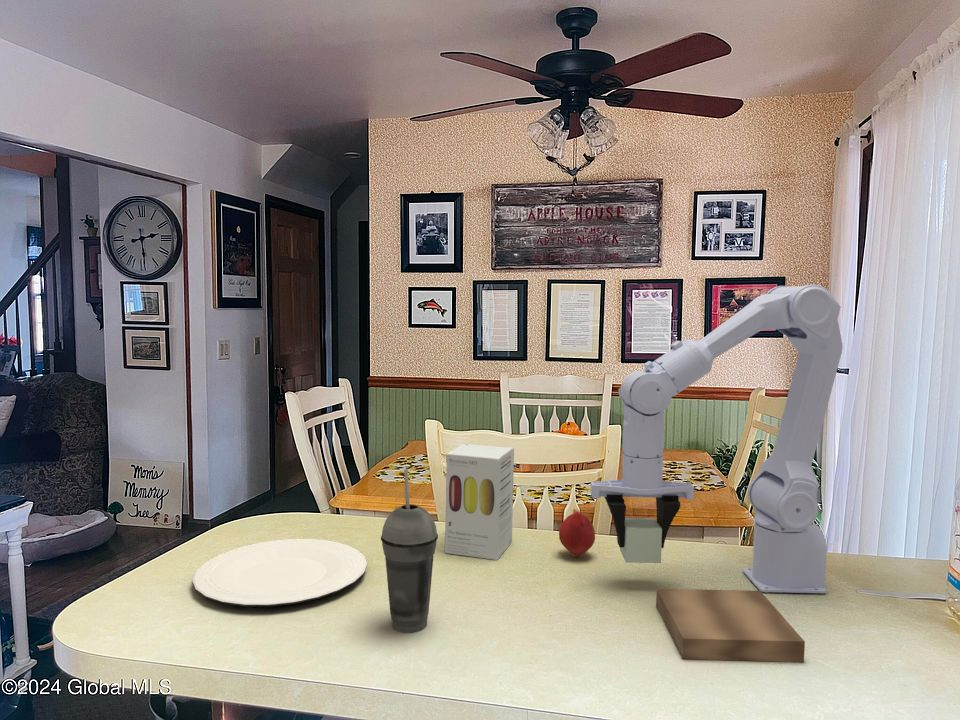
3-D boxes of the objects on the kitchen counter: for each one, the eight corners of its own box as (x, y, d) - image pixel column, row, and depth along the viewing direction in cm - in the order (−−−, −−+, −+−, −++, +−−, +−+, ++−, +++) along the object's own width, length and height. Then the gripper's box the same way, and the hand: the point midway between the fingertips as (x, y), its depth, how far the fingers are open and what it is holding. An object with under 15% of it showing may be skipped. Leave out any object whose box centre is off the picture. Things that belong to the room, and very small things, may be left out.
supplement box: (443, 553, 113) (443, 453, 112) (461, 535, 122) (462, 442, 121) (499, 561, 111) (500, 457, 109) (513, 542, 119) (515, 446, 118)
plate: (152, 598, 97) (152, 584, 96) (269, 540, 120) (269, 530, 120) (300, 631, 87) (300, 617, 87) (396, 562, 110) (396, 551, 110)
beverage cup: (392, 643, 84) (392, 481, 82) (373, 618, 90) (372, 468, 89) (447, 630, 87) (447, 475, 86) (424, 607, 94) (424, 462, 92)
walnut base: (759, 608, 94) (760, 590, 94) (803, 662, 80) (804, 641, 80) (656, 606, 95) (656, 588, 94) (682, 658, 81) (683, 638, 80)
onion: (593, 550, 115) (594, 504, 115) (595, 563, 110) (596, 514, 109) (558, 549, 116) (559, 502, 115) (558, 562, 110) (559, 513, 110)
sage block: (653, 550, 104) (654, 518, 103) (661, 563, 99) (662, 529, 98) (620, 549, 104) (620, 517, 103) (625, 562, 99) (626, 528, 98)
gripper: (685, 448, 104) (683, 536, 105) (588, 447, 104) (587, 535, 105) (699, 459, 97) (696, 553, 98) (595, 458, 97) (593, 552, 98)
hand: (640, 545), depth 101 cm, fingers closed on sage block, 5 cm apart
